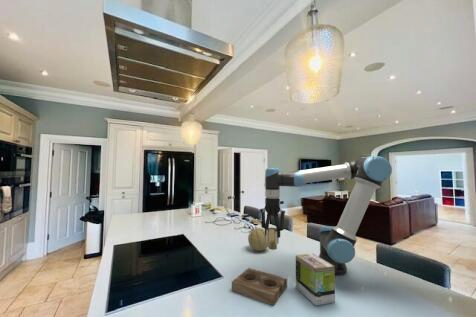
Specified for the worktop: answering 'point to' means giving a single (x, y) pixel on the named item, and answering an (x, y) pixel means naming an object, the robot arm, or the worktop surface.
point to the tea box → (315, 278)
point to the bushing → (271, 238)
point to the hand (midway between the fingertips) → (272, 242)
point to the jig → (260, 285)
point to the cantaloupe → (257, 239)
